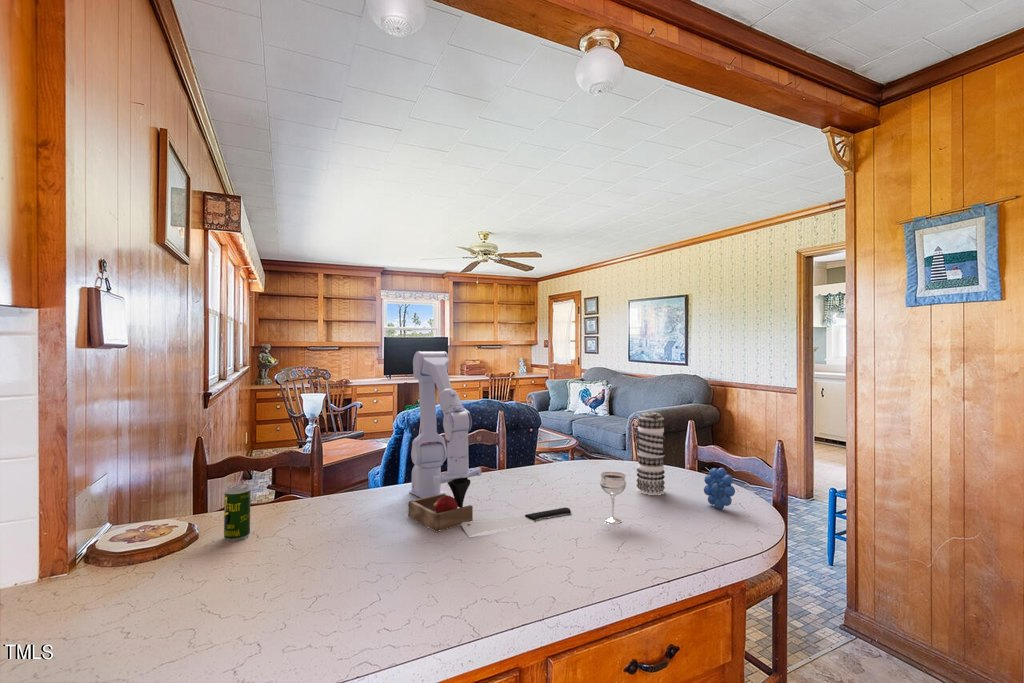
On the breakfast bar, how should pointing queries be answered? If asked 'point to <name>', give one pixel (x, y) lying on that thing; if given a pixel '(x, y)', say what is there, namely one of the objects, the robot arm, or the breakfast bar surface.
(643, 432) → the striped tall cylinder
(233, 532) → the green fruit can
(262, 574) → the breakfast bar surface
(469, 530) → the kitchen cleaver
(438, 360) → the robot arm
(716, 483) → the grapes
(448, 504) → the onion
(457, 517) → the box
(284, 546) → the breakfast bar surface
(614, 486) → the wineglass
